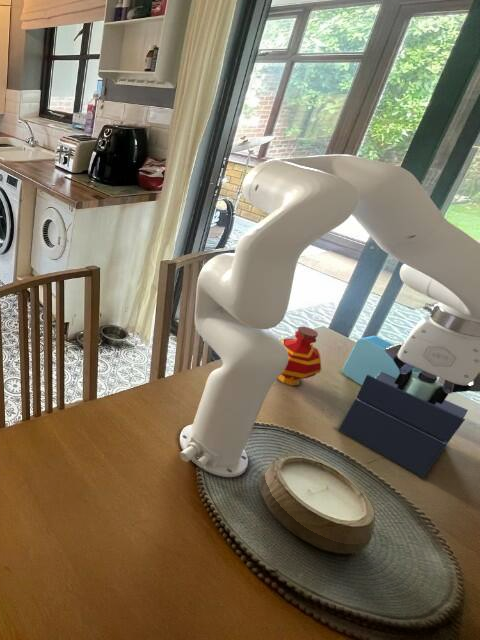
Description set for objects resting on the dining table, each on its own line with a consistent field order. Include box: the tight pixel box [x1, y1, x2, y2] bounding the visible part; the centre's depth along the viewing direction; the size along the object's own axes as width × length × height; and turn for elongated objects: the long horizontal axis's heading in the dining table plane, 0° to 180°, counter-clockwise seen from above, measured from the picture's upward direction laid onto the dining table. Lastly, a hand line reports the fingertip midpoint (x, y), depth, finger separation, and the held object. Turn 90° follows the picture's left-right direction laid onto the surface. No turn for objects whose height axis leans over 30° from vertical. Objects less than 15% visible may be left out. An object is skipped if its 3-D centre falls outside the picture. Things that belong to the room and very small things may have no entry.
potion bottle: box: [277, 326, 322, 386], centre depth 104 cm, size 10×10×15 cm
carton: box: [338, 372, 469, 479], centre depth 88 cm, size 15×14×10 cm
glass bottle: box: [402, 371, 442, 403], centre depth 83 cm, size 4×4×8 cm
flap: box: [356, 375, 466, 443], centre depth 80 cm, size 7×14×1 cm
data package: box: [342, 335, 423, 386], centre depth 102 cm, size 12×4×12 cm, turn 16°
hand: (416, 395), depth 83 cm, fingers closed on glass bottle, 4 cm apart
